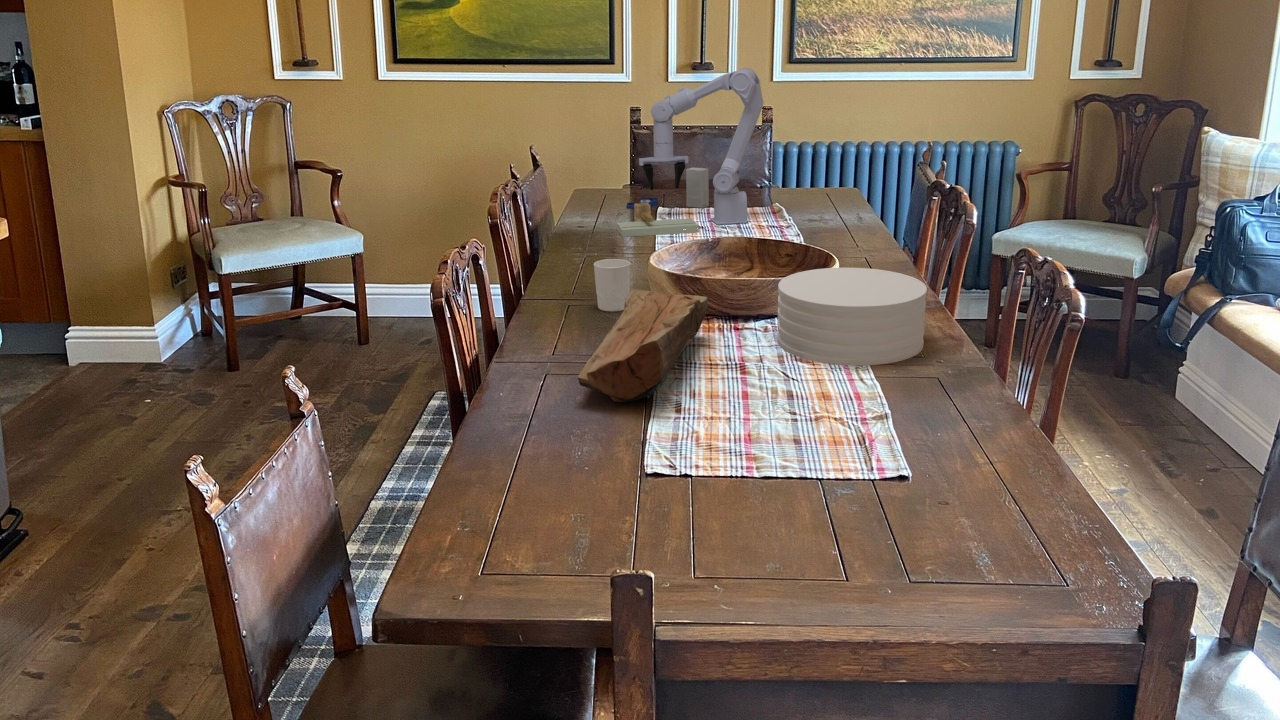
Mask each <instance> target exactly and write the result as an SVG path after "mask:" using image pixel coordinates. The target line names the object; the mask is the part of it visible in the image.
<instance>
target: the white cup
mask: <svg viewBox="0 0 1280 720" xmlns="http://www.w3.org/2000/svg"><path fill="white" fill-rule="evenodd" d="M593 271H594V281H595V283H594V284H595V292H596V297H597V298H596V299H597V300H596V301H597V308H598V310H600V311H604V312H612V313H613V312H620V311H624V305H625V298H626V296H627V295H628V294H629V293H630V292H631V290H630V288H631V285H630V284H631V262H630V261H629V260H627V259H623V258H622V259H621V258H605V259H601V260H597V261H595V262H593Z"/></svg>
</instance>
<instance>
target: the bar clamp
mask: <svg viewBox="0 0 1280 720" xmlns="http://www.w3.org/2000/svg"><path fill="white" fill-rule="evenodd" d="M658 200H659V198H658V197H653V196H652V197H651V196H641V198H640V200H639V202H627V203H626V205H625V206H626V209H627V210H632V209H633V210H634V204H637V203H648V204H649V205H650V209H651V208H654V207H656V206H658V204H659V201H658Z"/></svg>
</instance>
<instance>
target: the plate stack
mask: <svg viewBox="0 0 1280 720" xmlns="http://www.w3.org/2000/svg"><path fill="white" fill-rule="evenodd" d="M777 292H778V297H777V306H778V308H777V319H778V321H777V326H776V327H777V328H776V330H777V335H776V336H777V337H776V339H777V340H776V342H777V345H778V346H779V347H780V348H781V350H783V351H785V352H786V353H788V354H790V355H792V356H795V357H798V358H801V359H804V360H808V361H812V362H816V363H823V364H830V365H837V366H838V365H839V366H875V365H886V364H892V363H897V362H901V361H906V360H908V359H910V358H913V357H914V356H916V355H918V354H920V353H921V352H922V350H923V349H924V335H925V323H926V312H925V311H926V309H927V300H926V298H927V295H928V294H927V292H928V288H927V285H926V284H925V283H924V282H923V281H921V280H920V279H918V278H915V277H913V276H911V275H907V274H904V273H900V272H897V271H890V270H885V269H876V268H867V267H866V268H865V267H826V268H815V269H810V270H809V269H808V270H804V271H799V272H794V273H792V274H789V275H786V276H785V277H783V278H782V279H780V281H779V282H778V285H777Z"/></svg>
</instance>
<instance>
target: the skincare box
mask: <svg viewBox="0 0 1280 720" xmlns="http://www.w3.org/2000/svg"><path fill="white" fill-rule="evenodd" d="M685 177H686V178H685V180H686V181H685V185H686V186H685V187H686V192H685V193H686V197H685V198H686V207H687V208H696V209H697V208H698V209H705V208H707V207H709V206H710V205H709V204H710V198H709V197H710V196H709V195H710V194H709V190H710V189H709V187H710V186H709V168H704V167H690V168H685Z"/></svg>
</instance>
